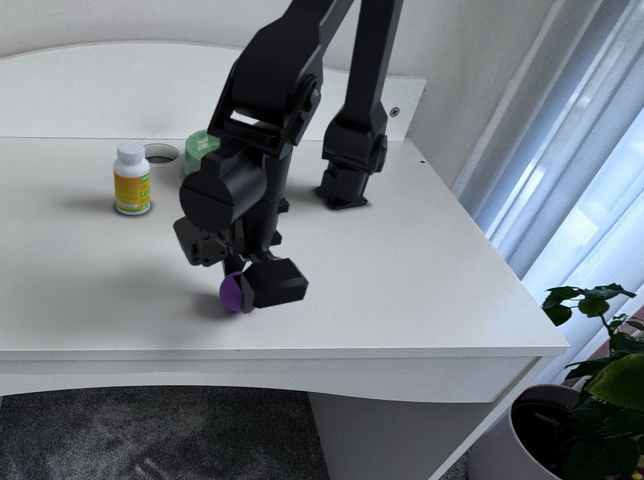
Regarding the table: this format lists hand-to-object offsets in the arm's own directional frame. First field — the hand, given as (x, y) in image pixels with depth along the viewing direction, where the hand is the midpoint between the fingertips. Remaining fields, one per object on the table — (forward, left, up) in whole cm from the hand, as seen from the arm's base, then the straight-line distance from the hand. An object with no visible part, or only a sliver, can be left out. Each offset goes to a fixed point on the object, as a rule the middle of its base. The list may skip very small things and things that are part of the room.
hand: (238, 299), depth 63 cm
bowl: (-11, -32, -1) cm, 34 cm away
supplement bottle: (+7, -26, -1) cm, 27 cm away
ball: (0, 0, +1) cm, 1 cm away
